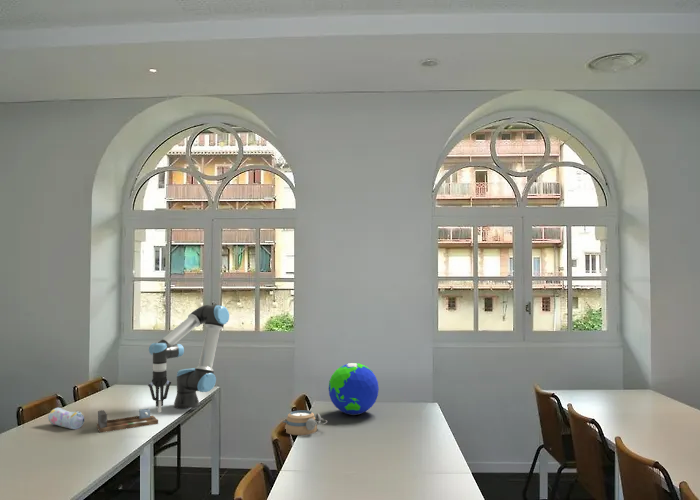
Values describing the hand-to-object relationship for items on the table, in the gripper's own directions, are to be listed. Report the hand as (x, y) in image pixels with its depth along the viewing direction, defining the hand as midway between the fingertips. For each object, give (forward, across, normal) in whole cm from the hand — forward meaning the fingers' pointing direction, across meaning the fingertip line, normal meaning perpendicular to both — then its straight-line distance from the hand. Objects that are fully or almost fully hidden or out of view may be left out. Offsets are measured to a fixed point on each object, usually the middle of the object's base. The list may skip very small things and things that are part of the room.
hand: (159, 411), depth 321 cm
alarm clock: (+5, -61, +64) cm, 88 cm away
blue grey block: (+3, +8, +2) cm, 9 cm away
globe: (+5, -100, +50) cm, 112 cm away
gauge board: (+5, +17, 0) cm, 18 cm away
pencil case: (+5, +46, -17) cm, 50 cm away
